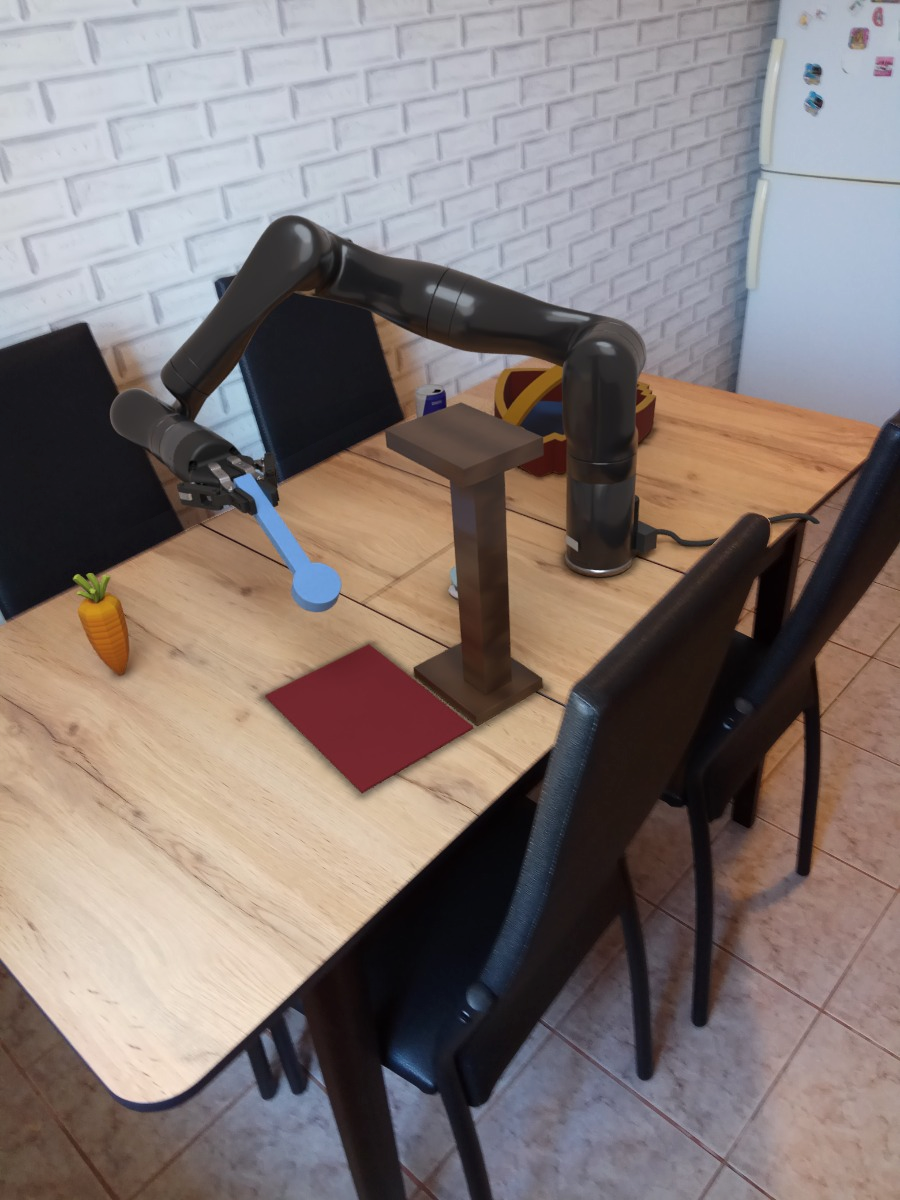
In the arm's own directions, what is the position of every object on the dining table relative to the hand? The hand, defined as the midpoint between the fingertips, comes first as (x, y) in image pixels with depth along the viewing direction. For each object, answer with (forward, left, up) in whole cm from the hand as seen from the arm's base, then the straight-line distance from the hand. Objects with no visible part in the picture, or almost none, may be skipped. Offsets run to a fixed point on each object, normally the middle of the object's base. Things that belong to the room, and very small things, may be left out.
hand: (264, 503), depth 107 cm
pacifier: (-25, +6, -21) cm, 33 cm away
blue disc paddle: (0, +3, -4) cm, 5 cm away
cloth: (0, +17, -21) cm, 27 cm away
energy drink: (-48, -33, -21) cm, 62 cm away
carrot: (+19, -10, -21) cm, 30 cm away
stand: (-13, +22, -21) cm, 33 cm away
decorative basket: (-69, -22, -21) cm, 75 cm away
